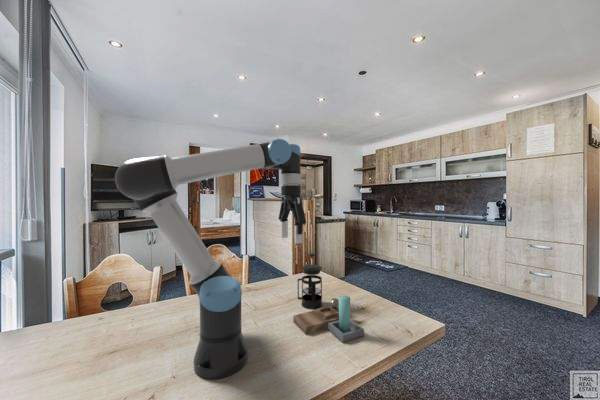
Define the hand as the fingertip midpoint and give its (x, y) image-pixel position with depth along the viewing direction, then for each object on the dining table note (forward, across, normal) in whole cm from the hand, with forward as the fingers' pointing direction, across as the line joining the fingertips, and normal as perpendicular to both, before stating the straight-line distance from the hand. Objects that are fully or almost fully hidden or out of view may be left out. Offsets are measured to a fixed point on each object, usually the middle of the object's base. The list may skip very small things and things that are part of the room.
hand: (291, 240), depth 96 cm
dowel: (+31, -16, -14) cm, 38 cm away
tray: (+32, -16, -14) cm, 38 cm away
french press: (+32, +10, -14) cm, 36 cm away
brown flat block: (+32, -5, -9) cm, 34 cm away
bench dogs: (+32, -5, -18) cm, 37 cm away
